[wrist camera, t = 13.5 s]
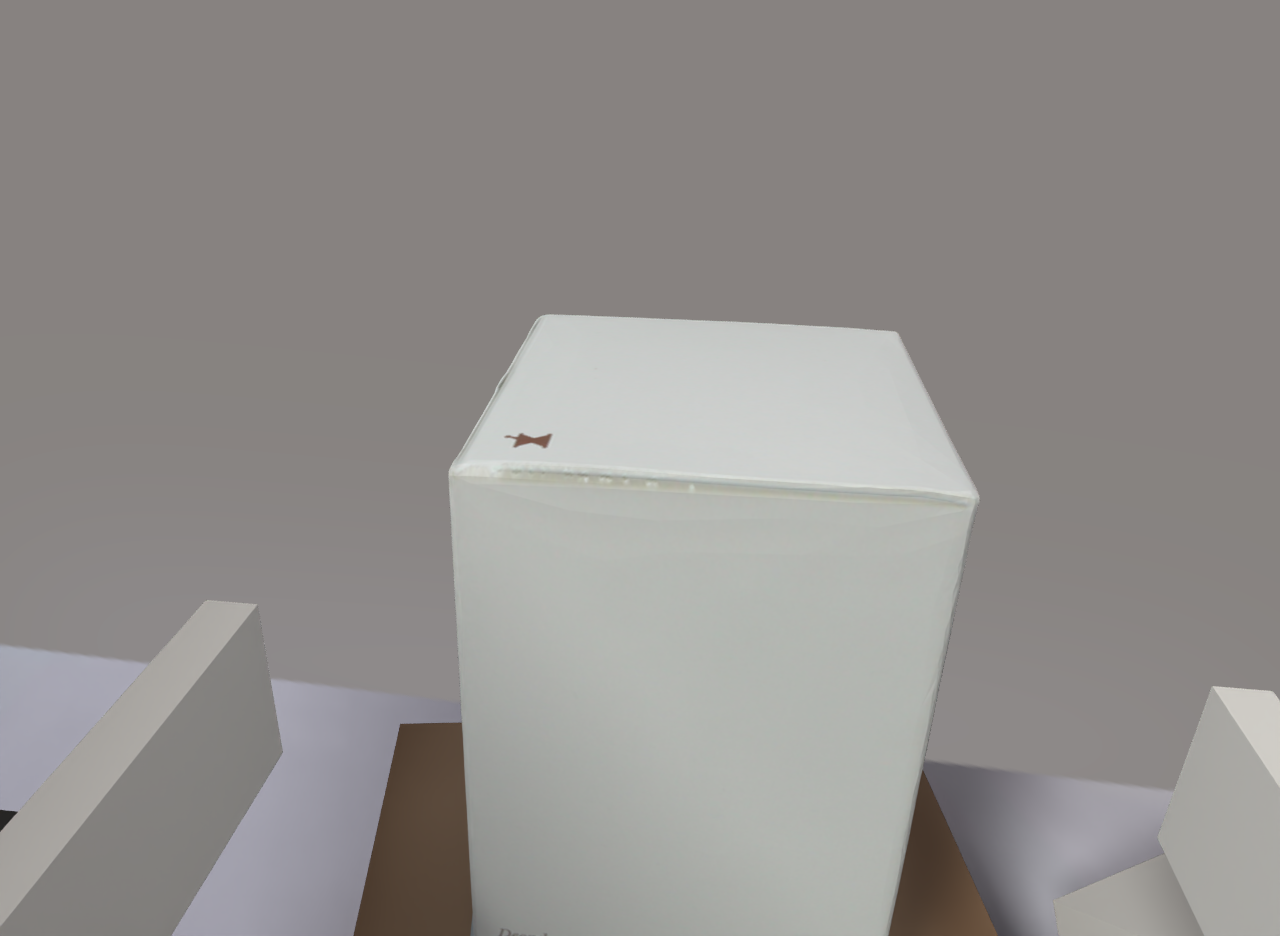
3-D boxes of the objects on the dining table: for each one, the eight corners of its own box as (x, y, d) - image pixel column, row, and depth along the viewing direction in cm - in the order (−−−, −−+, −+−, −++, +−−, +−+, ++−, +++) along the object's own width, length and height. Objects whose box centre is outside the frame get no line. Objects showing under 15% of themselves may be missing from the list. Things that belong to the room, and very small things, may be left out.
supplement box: (864, 1105, 18) (997, 501, 12) (469, 1060, 19) (426, 460, 13) (832, 805, 25) (909, 322, 19) (540, 778, 25) (532, 300, 20)
